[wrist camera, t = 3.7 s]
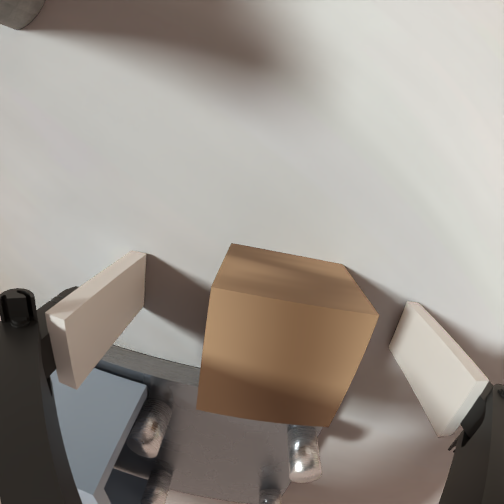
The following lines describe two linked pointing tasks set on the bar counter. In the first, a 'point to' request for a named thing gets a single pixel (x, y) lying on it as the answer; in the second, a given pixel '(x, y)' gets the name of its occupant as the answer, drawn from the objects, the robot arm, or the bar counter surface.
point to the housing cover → (100, 435)
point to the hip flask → (19, 12)
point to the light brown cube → (282, 338)
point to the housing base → (205, 440)
